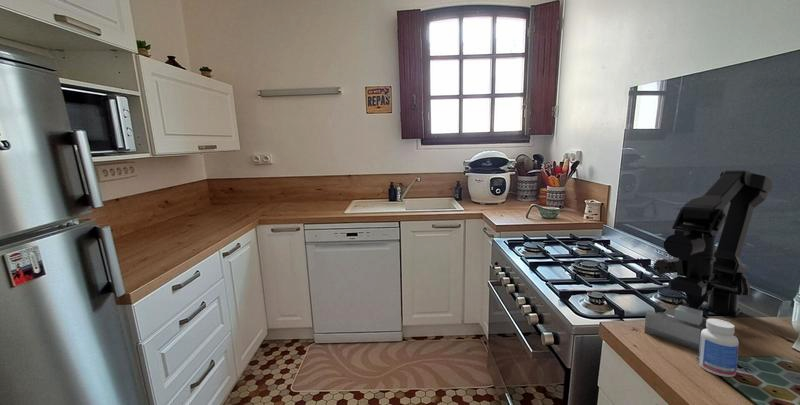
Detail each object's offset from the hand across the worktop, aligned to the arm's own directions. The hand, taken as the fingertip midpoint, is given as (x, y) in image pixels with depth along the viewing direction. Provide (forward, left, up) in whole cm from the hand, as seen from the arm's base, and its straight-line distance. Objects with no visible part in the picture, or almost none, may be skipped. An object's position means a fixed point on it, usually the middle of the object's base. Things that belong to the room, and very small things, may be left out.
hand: (693, 311), depth 83 cm
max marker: (+7, -5, -1) cm, 9 cm away
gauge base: (+6, 0, -3) cm, 7 cm away
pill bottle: (+20, +9, -3) cm, 22 cm away
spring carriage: (+4, -1, -1) cm, 5 cm away
